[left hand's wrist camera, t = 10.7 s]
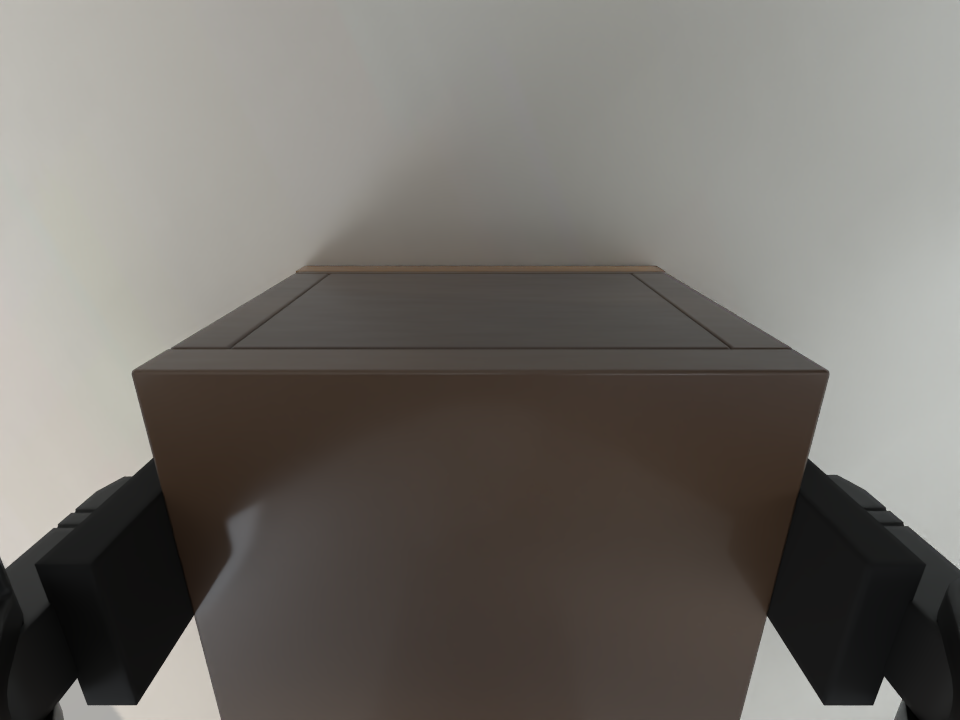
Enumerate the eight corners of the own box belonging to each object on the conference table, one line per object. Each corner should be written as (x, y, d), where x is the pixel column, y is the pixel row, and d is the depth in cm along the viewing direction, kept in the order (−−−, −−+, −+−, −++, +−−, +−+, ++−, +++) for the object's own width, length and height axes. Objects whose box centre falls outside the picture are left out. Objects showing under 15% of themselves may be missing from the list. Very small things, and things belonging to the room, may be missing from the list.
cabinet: (615, 604, 20) (699, 881, 12) (345, 604, 20) (261, 880, 12) (656, 266, 16) (832, 370, 8) (304, 265, 16) (127, 370, 8)
